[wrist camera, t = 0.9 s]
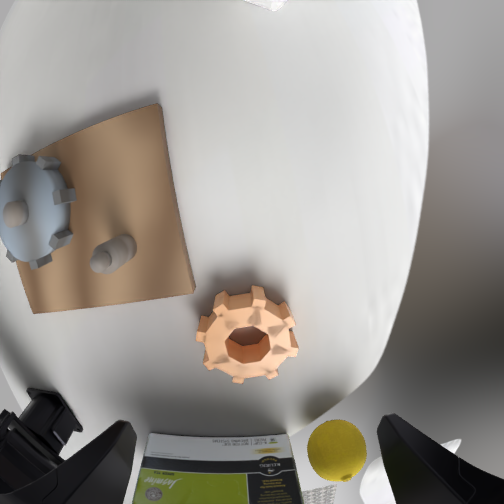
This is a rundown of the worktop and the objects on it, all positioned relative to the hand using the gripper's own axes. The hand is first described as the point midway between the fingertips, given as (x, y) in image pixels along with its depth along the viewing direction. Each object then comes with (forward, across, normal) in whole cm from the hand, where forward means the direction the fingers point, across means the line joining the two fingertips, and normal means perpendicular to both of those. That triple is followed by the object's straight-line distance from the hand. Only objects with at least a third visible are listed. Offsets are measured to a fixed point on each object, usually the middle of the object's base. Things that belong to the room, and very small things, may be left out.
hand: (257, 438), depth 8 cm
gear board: (+12, +13, -6) cm, 19 cm away
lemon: (+13, -7, +15) cm, 21 cm away
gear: (+12, 0, +3) cm, 13 cm away
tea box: (+12, +4, +21) cm, 25 cm away
